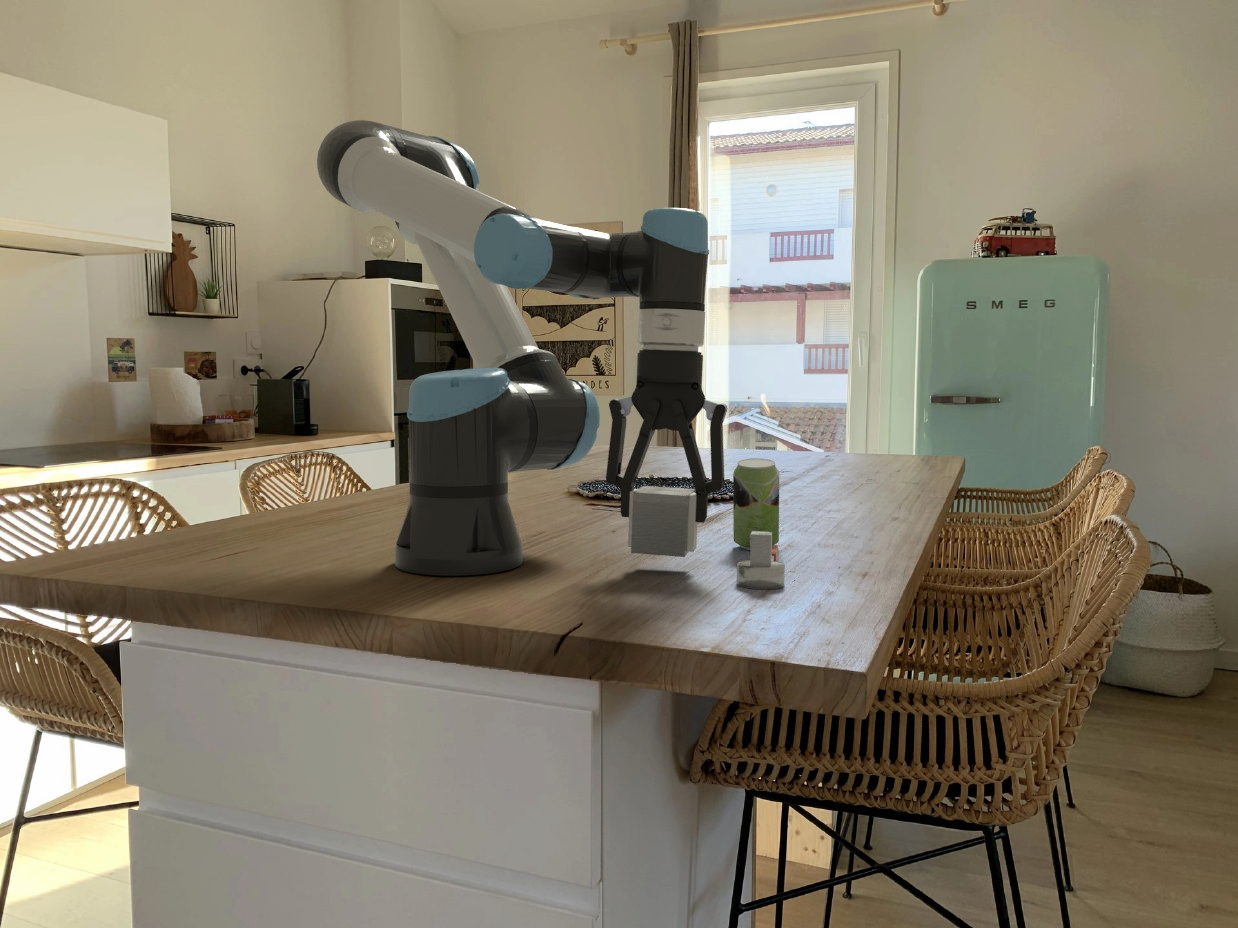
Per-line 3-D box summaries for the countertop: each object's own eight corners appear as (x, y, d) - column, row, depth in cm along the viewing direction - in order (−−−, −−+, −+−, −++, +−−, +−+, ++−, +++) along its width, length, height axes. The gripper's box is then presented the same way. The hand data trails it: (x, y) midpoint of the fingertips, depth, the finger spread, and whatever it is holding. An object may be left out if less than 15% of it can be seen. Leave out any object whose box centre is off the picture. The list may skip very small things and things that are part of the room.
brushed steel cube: (631, 552, 106) (633, 492, 105) (641, 543, 112) (643, 485, 111) (684, 557, 105) (687, 495, 104) (691, 547, 111) (694, 489, 110)
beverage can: (777, 544, 127) (779, 457, 126) (780, 554, 120) (783, 462, 119) (731, 543, 128) (732, 456, 127) (732, 553, 121) (734, 461, 120)
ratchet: (734, 587, 100) (735, 535, 100) (746, 558, 117) (747, 513, 116) (783, 590, 99) (784, 538, 99) (788, 560, 116) (789, 515, 115)
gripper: (581, 345, 104) (574, 546, 107) (752, 351, 100) (741, 560, 103) (596, 346, 112) (590, 535, 114) (757, 352, 108) (747, 547, 110)
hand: (662, 546), depth 109 cm, fingers closed on brushed steel cube, 6 cm apart
